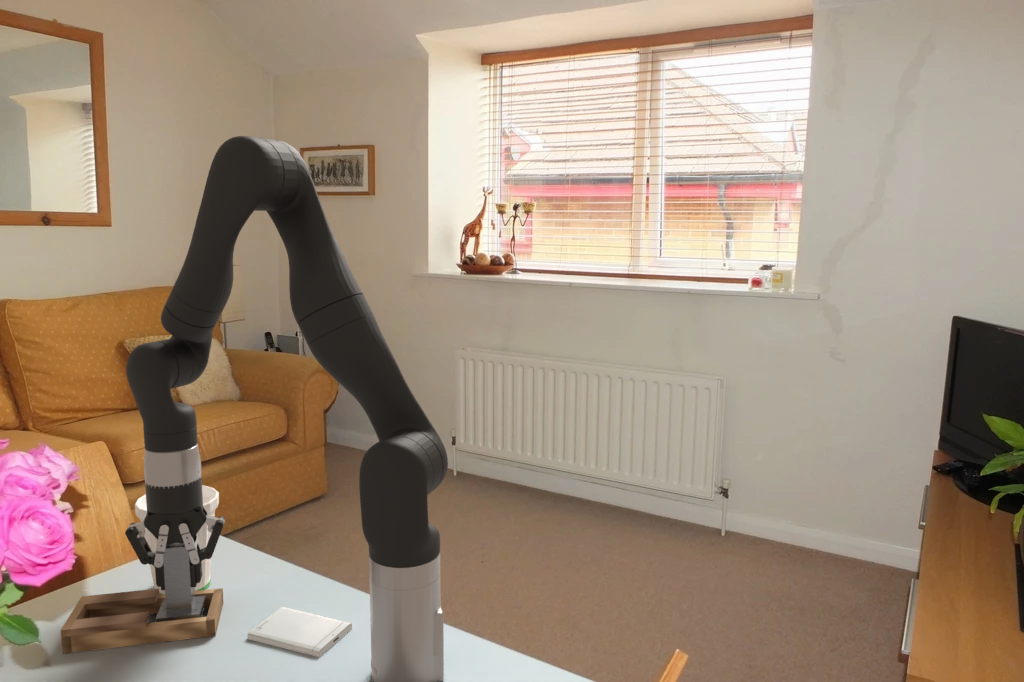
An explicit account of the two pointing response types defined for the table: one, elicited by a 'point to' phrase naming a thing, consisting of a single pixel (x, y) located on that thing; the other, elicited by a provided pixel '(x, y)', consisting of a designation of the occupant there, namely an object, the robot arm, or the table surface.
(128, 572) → the table surface
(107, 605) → the rail
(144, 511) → the cup
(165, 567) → the t peg
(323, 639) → the hard drive
